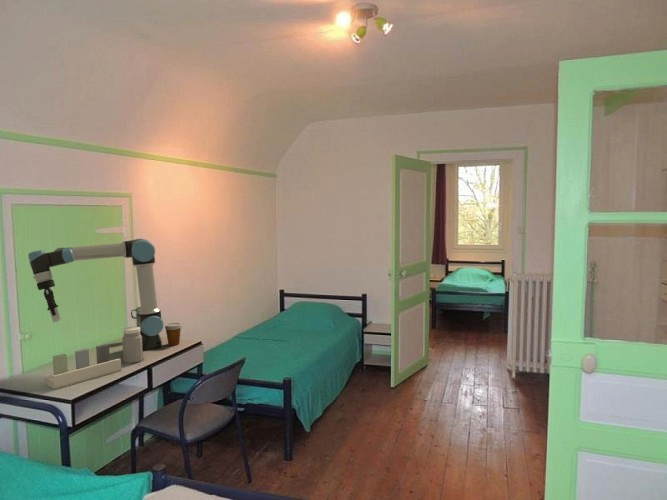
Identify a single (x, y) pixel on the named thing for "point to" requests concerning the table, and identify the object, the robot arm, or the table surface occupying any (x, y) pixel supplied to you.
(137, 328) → the jar
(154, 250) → the robot arm
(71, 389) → the table surface
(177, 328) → the disposable coffee cup
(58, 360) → the key sage
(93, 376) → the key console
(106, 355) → the key charcoal
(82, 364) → the key slate
